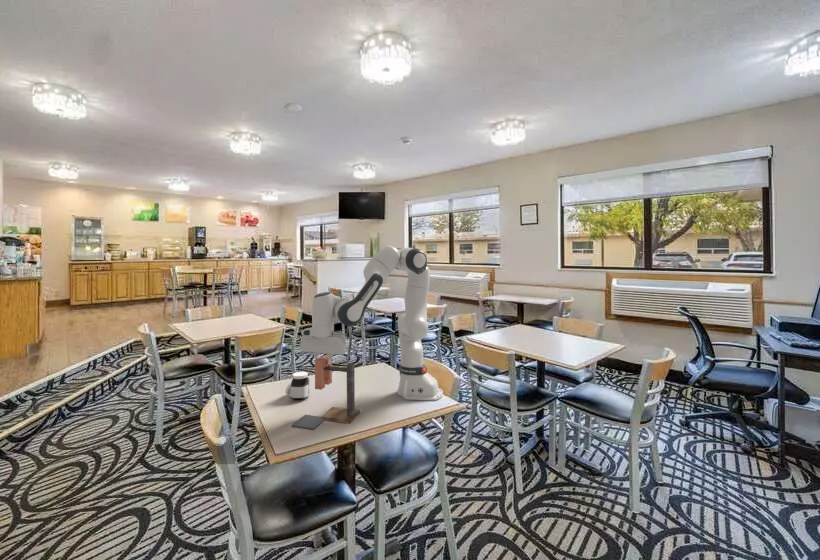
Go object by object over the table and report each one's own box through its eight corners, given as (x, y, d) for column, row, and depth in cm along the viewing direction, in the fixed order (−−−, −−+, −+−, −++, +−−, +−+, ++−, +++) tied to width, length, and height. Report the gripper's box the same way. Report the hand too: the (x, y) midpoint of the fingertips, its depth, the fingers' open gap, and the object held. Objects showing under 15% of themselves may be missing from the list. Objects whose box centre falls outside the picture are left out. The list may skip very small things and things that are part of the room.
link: (331, 382, 157) (331, 355, 156) (321, 389, 148) (321, 361, 147) (325, 381, 157) (325, 354, 157) (315, 388, 149) (314, 360, 148)
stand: (360, 413, 154) (359, 361, 153) (350, 423, 145) (349, 368, 143) (324, 408, 159) (323, 358, 158) (312, 418, 149) (311, 365, 148)
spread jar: (305, 402, 166) (305, 377, 165) (280, 402, 166) (280, 377, 165) (312, 392, 178) (312, 369, 177) (289, 392, 178) (289, 369, 177)
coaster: (326, 418, 149) (326, 417, 149) (313, 429, 139) (313, 428, 139) (305, 415, 151) (305, 414, 151) (291, 426, 142) (291, 425, 142)
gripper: (349, 331, 151) (349, 363, 152) (306, 328, 157) (306, 359, 158) (342, 334, 145) (342, 367, 146) (297, 331, 151) (298, 363, 152)
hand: (323, 363), depth 152 cm, fingers closed on link, 3 cm apart
